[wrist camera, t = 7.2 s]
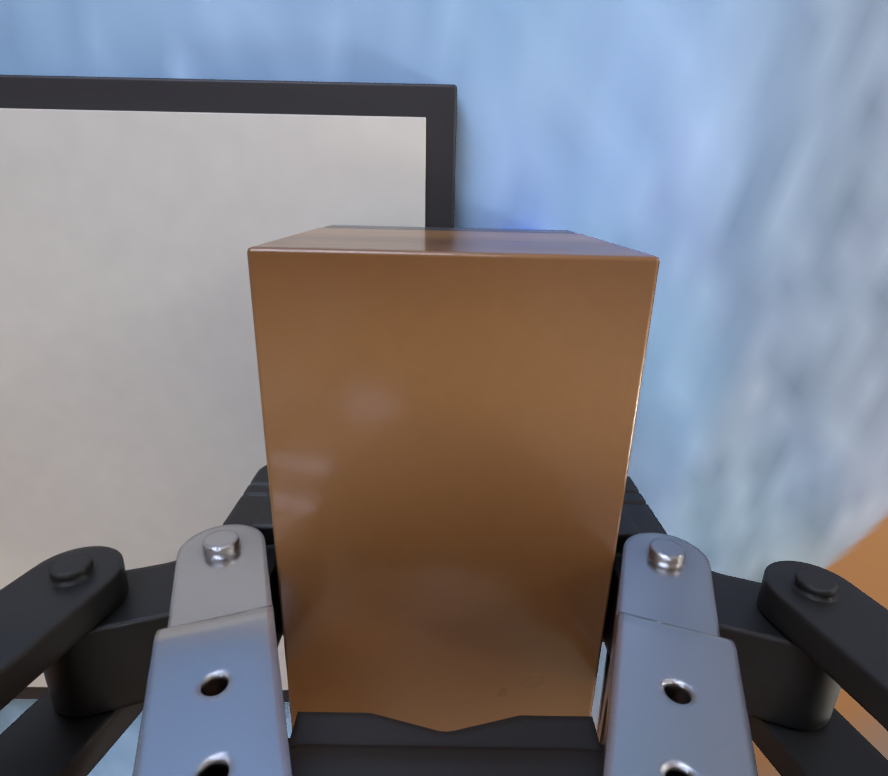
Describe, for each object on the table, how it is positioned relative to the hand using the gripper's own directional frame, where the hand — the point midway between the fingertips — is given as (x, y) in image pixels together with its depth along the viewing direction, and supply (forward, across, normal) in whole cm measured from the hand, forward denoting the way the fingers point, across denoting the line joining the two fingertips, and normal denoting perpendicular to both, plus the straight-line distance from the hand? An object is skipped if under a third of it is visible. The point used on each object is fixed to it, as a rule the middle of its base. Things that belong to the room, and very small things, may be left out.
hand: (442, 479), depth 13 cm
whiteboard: (+1, +7, 0) cm, 7 cm away
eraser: (+1, 0, 0) cm, 1 cm away
